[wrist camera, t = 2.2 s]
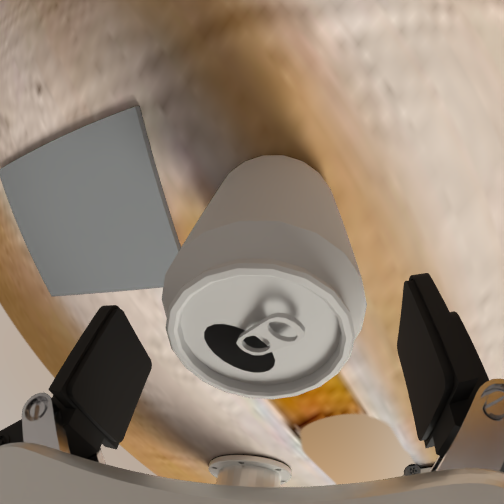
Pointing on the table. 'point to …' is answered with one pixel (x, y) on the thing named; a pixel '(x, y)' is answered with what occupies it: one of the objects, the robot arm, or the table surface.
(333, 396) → the table surface
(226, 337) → the can
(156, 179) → the mat
